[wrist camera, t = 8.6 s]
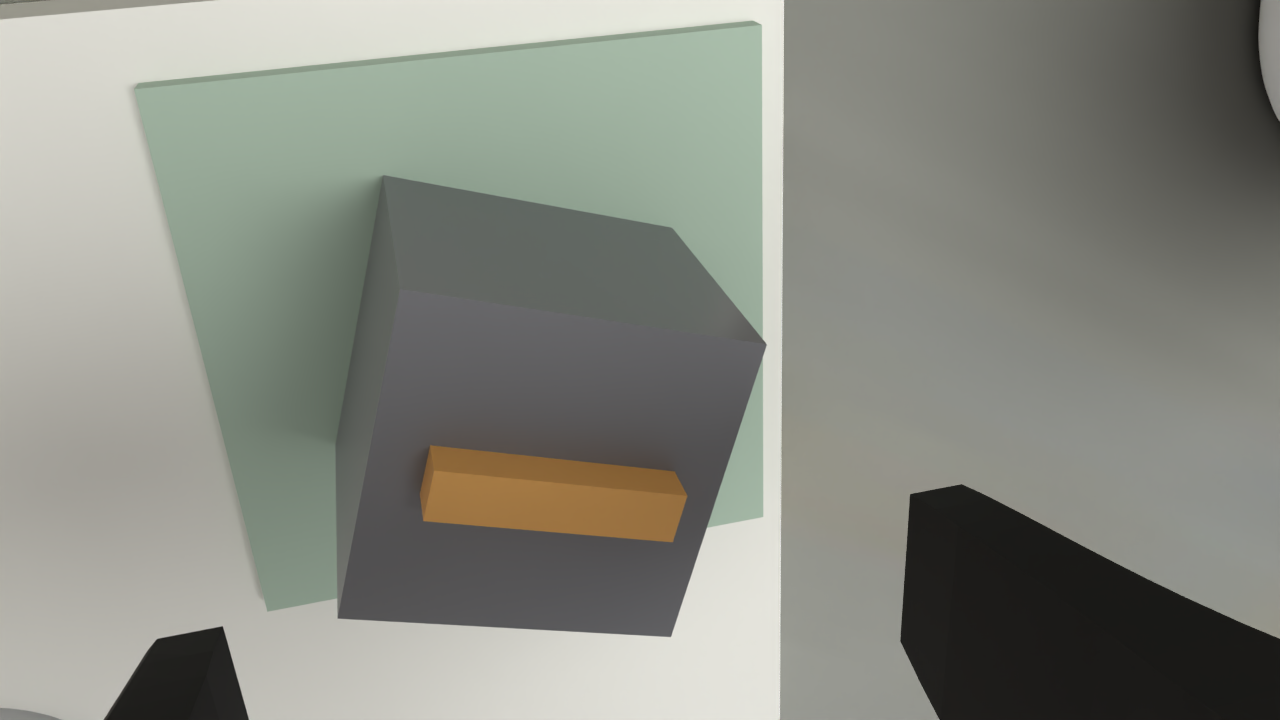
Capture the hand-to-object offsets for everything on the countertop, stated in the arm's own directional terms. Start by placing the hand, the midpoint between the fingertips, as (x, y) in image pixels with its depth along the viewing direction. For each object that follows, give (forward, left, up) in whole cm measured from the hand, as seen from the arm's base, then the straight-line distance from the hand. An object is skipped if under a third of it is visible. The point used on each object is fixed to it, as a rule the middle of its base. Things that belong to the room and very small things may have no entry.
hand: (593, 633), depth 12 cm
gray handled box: (0, 0, -8) cm, 8 cm away
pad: (0, 0, -8) cm, 8 cm away
